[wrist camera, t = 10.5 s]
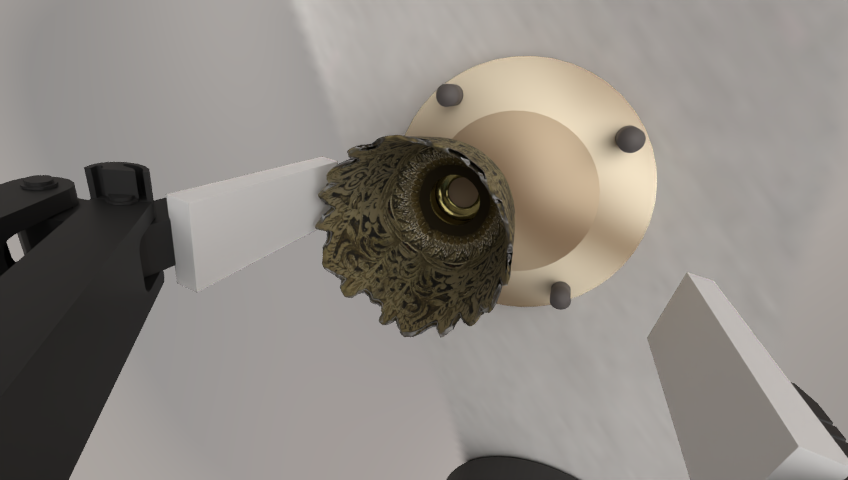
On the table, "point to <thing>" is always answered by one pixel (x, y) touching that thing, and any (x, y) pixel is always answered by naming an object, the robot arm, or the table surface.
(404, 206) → the ornate scalloped bell shade
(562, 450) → the table surface
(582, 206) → the seat plate
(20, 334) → the robot arm
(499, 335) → the table surface
